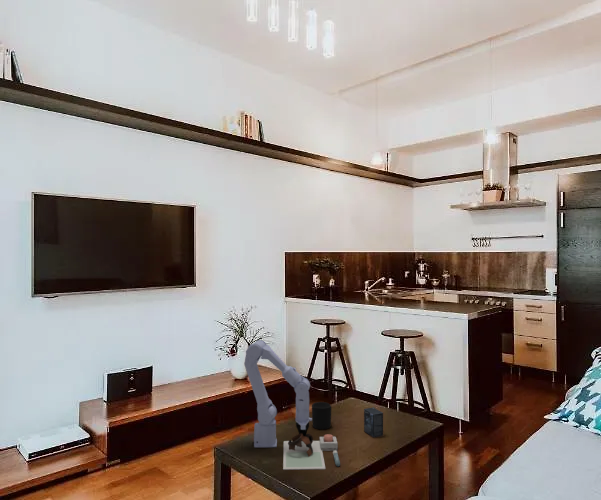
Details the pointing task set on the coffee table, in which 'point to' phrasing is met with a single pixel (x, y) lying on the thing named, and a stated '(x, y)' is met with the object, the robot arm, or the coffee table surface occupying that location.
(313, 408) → the pen holder
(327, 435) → the button
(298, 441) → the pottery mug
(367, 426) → the box
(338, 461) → the marker
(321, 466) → the paper
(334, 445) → the white square holder
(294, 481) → the coffee table surface
